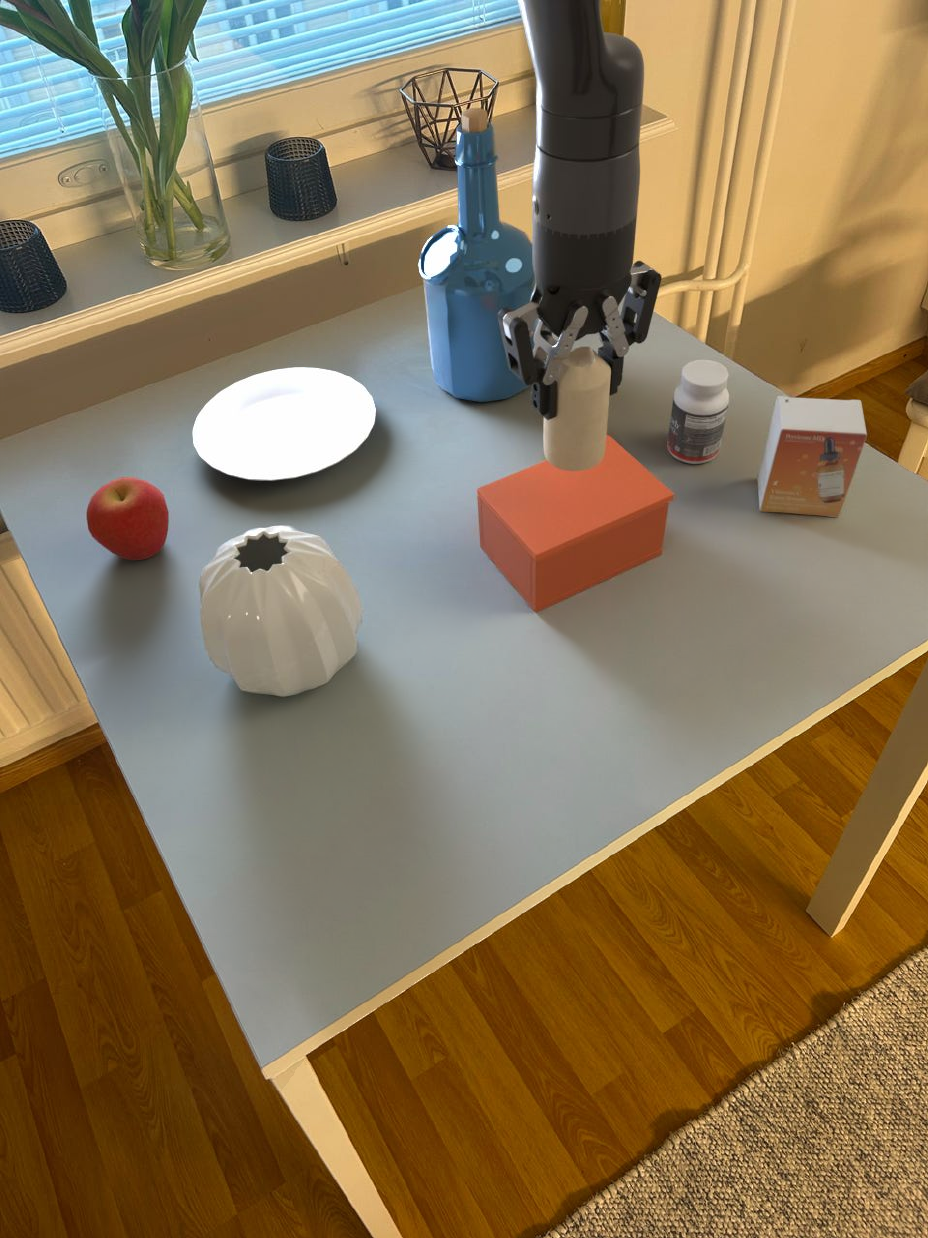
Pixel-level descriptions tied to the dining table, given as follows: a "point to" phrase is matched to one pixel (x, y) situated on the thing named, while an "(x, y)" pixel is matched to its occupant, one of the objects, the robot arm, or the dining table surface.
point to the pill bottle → (698, 412)
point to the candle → (579, 412)
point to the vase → (278, 611)
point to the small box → (810, 455)
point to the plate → (284, 424)
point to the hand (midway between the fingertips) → (576, 401)
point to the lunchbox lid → (573, 500)
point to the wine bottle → (475, 276)
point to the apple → (129, 518)
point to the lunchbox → (571, 556)
